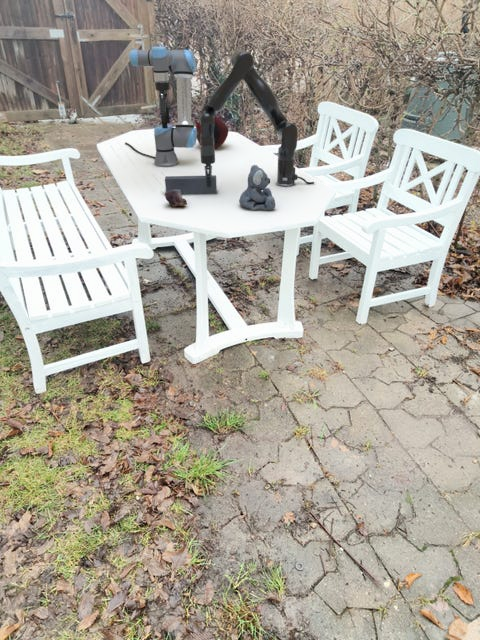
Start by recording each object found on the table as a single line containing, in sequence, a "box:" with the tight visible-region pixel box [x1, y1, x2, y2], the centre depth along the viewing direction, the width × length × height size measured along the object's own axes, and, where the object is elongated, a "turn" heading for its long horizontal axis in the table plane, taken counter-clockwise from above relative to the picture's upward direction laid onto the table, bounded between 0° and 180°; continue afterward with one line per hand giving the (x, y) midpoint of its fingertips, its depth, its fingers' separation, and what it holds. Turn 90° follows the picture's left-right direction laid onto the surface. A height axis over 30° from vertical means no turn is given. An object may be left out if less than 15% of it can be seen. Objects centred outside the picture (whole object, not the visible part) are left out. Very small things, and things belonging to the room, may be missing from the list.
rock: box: [164, 189, 188, 207], centre depth 228 cm, size 12×9×10 cm
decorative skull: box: [193, 116, 229, 149], centre depth 324 cm, size 21×24×25 cm
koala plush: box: [238, 164, 276, 211], centre depth 224 cm, size 17×18×20 cm
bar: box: [164, 175, 218, 195], centre depth 244 cm, size 27×5×8 cm, turn 92°
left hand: (166, 125), depth 243 cm, fingers open, 13 cm apart
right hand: (209, 185), depth 245 cm, fingers closed on bar, 5 cm apart
